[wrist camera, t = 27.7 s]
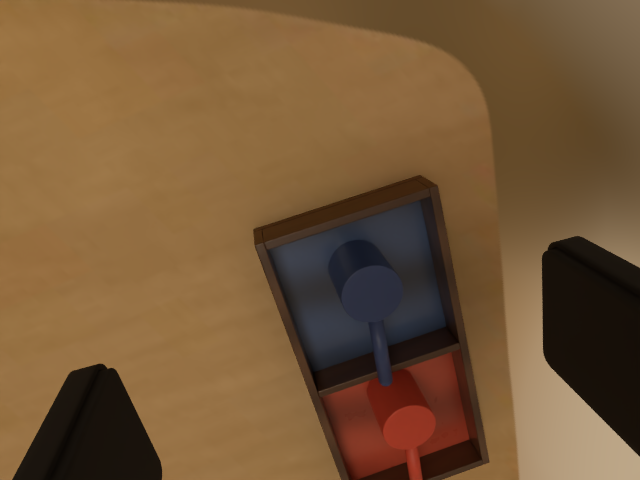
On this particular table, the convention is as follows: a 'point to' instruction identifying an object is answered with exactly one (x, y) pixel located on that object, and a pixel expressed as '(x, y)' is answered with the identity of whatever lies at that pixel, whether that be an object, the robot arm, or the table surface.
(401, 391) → the red round-headed part
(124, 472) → the robot arm
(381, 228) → the tray
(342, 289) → the blue mallet
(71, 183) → the table surface
